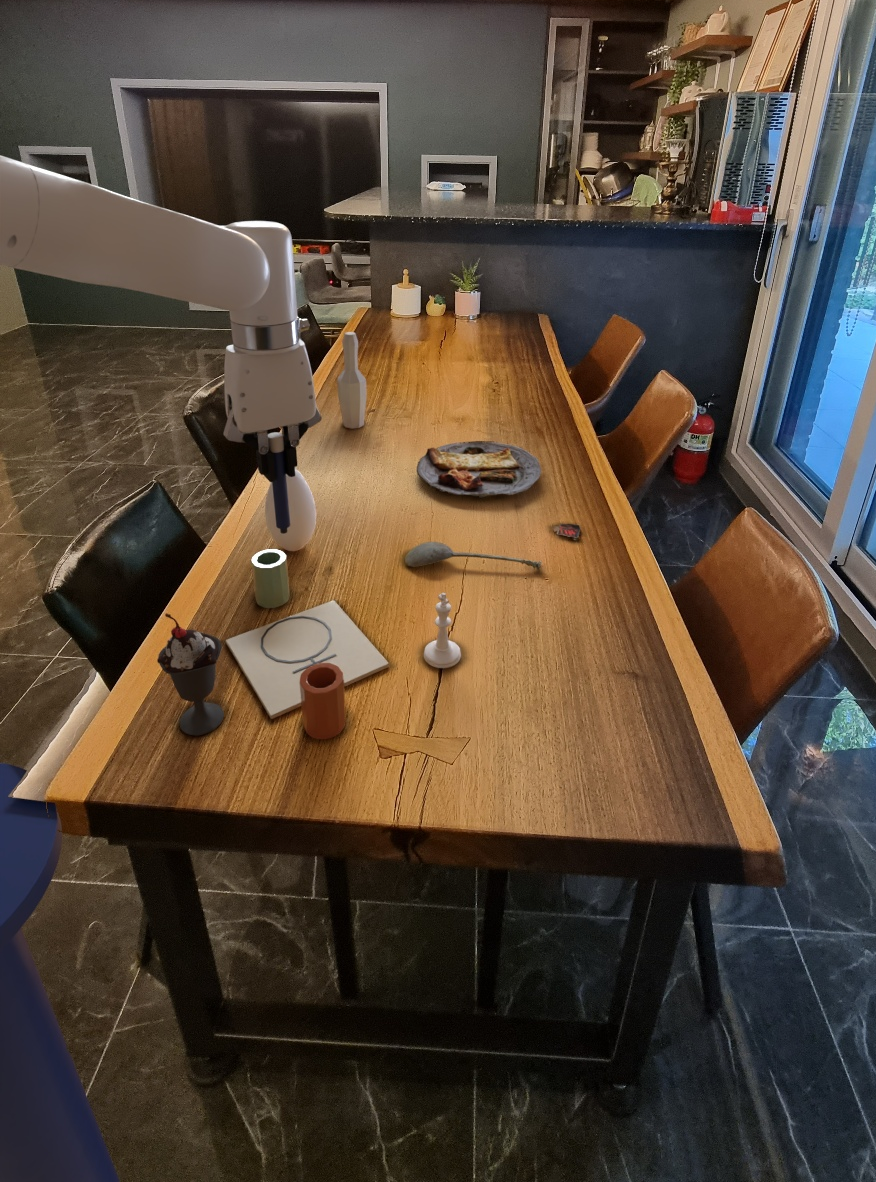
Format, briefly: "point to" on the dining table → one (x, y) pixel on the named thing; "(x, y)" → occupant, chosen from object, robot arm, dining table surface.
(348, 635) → the sketch pad
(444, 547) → the soupspoon
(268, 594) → the pen cup
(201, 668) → the sundae
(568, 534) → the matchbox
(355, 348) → the low poly bottle
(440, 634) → the chess piece
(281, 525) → the marker
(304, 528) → the sauce bottle
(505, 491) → the food plate
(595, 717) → the dining table surface
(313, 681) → the pen pot
